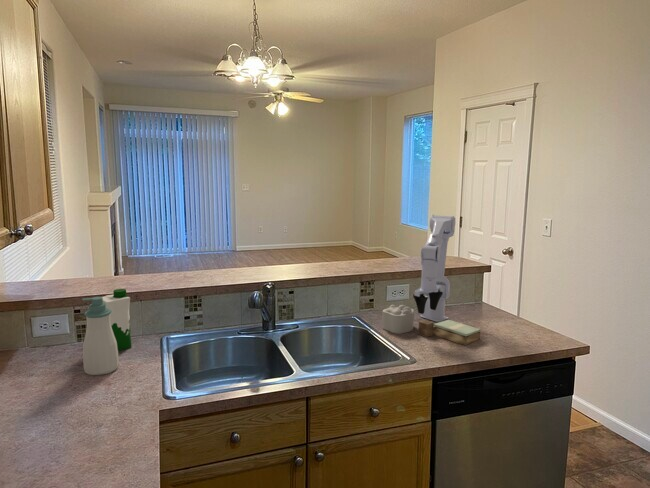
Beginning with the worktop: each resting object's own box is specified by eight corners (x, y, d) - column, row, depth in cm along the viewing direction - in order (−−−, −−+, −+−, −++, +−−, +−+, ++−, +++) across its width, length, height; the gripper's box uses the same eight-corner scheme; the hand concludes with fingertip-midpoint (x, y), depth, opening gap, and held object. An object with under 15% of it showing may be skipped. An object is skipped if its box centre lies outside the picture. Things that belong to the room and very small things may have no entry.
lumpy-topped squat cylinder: (378, 327, 184) (379, 306, 183) (400, 321, 192) (401, 301, 191) (397, 334, 176) (398, 313, 175) (419, 328, 184) (421, 307, 183)
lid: (433, 326, 177) (433, 323, 177) (448, 321, 183) (448, 319, 183) (465, 336, 166) (465, 334, 166) (480, 331, 173) (480, 329, 173)
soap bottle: (86, 365, 145) (81, 295, 141) (120, 361, 148) (116, 292, 144) (81, 378, 136) (76, 304, 132) (118, 373, 139) (113, 301, 135)
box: (433, 334, 177) (433, 327, 177) (448, 328, 184) (448, 321, 183) (465, 345, 167) (465, 337, 166) (479, 339, 173) (480, 331, 173)
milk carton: (135, 347, 159) (132, 291, 156) (108, 354, 152) (104, 296, 149) (124, 340, 165) (121, 286, 162) (98, 347, 158) (94, 291, 155)
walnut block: (418, 334, 178) (418, 321, 177) (424, 331, 180) (425, 319, 179) (426, 337, 175) (427, 324, 174) (433, 334, 177) (433, 322, 177)
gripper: (426, 281, 166) (424, 317, 168) (449, 276, 175) (446, 310, 178) (410, 277, 171) (408, 312, 173) (433, 272, 181) (431, 306, 183)
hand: (427, 311), depth 176 cm, fingers open, 7 cm apart
